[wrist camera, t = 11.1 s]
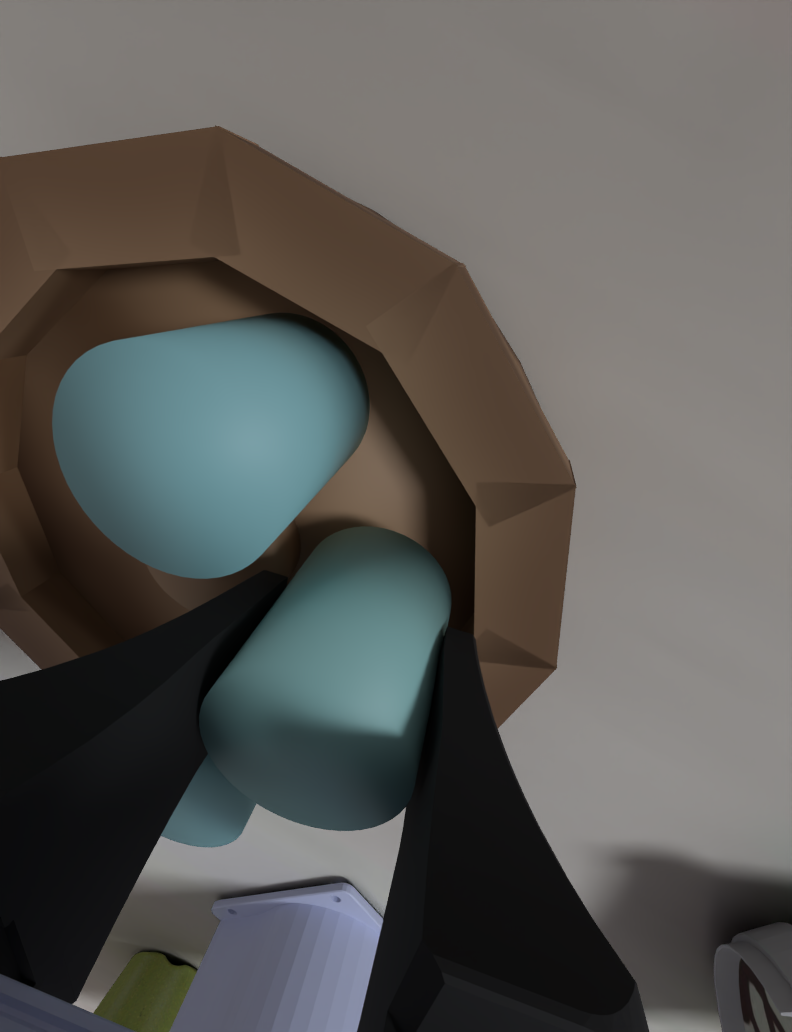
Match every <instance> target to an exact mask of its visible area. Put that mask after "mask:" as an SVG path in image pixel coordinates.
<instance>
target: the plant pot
mask: <svg viewBox="0 0 792 1032" xmlns="http://www.w3.org/2000/svg"><path fill="white" fill-rule="evenodd" d="M196 973H197V970H195V969H194V968H192V967H190V966H188V965H182V966H175V965H173V964H171V963H170V962H169V961H168V960H167V958H166V956H165V955H163V954H161V953H158V952H140V953H137V954H135V955H134V956H133V957H132V959H131V960H130V962H129V963H128V965H127V966H126V967H125V969H124V970H123V972H122V973H121V974H120V976H119V977H118V979H117V980H116V982H115V983H114V984H113V986H112V987H111V989H110V990H109V992H108V993H107V994H106V996H105V997H104V999H103V1000H102V1001H101V1003H100V1004H99V1006H98V1007H97V1009H96V1010H95V1011H94V1013H93V1014H96V1015H98V1016H100V1017H103V1018H105V1019H107V1020H110V1021H112V1022H115V1023H117V1024H119V1025H122V1026H124V1027H126V1028H129V1029H131V1030H133V1031H136V1032H169V1031H170V1029H171V1027H172V1025H173V1022H174V1020H175V1018H176V1016H177V1014H178V1012H179V1009H180V1007H181V1005H182V1003H183V1001H184V999H185V996H186V994H187V992H188V990H189V988H190V986H191V983H192V981H193V979H194V977H195V975H196Z"/></svg>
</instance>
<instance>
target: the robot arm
mask: <svg viewBox="0 0 792 1032" xmlns="http://www.w3.org/2000/svg"><path fill="white" fill-rule="evenodd" d="M287 580H288V577H286V576H283V575H280V574H277V573H273V572H270V571H267V570H263V571H261V572H259V573H257V574H255V575H254V576H252V577H250V578H248V579H247V580H245V581H243V582H241V583H240V584H238V585H236V586H234V587H233V588H231V589H229V590H227V591H226V592H224V593H222V594H220V595H218V596H217V597H215V598H213V599H211V600H209V601H207V602H206V603H204V604H202V605H200V606H198V607H196V608H194V609H193V610H191V611H189V612H187V613H185V614H183V615H181V616H179V617H177V618H175V619H173V620H171V621H169V622H166V623H164V624H162V625H160V626H158V627H156V628H154V629H152V630H150V631H148V632H145V633H143V634H141V635H138V636H136V637H134V638H131V639H129V640H126V641H124V642H121V643H119V644H116V645H113V646H111V647H108V648H106V649H103V650H100V651H98V652H95V653H92V654H89V655H86V656H83V657H80V658H77V659H73V660H70V661H67V662H64V663H61V664H58V665H55V666H52V667H49V668H46V669H42V670H39V671H35V672H32V673H28V674H25V675H21V676H17V677H14V678H10V679H6V680H2V681H0V1032H136V1031H133V1030H131V1029H129V1028H126V1027H124V1026H122V1025H119V1024H117V1023H115V1022H112V1021H110V1020H107V1019H105V1018H103V1017H100V1016H98V1015H96V1014H93V1013H91V1012H89V1011H86V1010H84V1009H82V1008H79V1007H77V1006H75V1005H72V1004H73V1003H74V1002H75V1001H76V1000H77V998H78V996H79V994H80V992H81V990H82V988H83V986H84V984H85V982H86V980H87V978H88V976H89V974H90V972H91V970H92V968H93V966H94V964H95V962H96V960H97V958H98V956H99V954H100V952H101V950H102V948H103V945H104V943H105V941H106V939H107V937H108V935H109V933H110V931H111V929H112V927H113V925H114V923H115V921H116V919H117V917H118V915H119V914H120V912H121V910H122V908H123V906H124V904H125V902H126V900H127V898H128V896H129V894H130V892H131V890H132V889H133V887H134V885H135V883H136V881H137V879H138V877H139V875H140V873H141V871H142V869H143V867H144V866H145V864H146V862H147V860H148V858H149V856H150V854H151V852H152V851H153V849H154V847H155V845H156V843H157V841H158V840H159V838H160V836H161V834H162V832H163V830H164V829H165V827H166V825H167V823H168V821H169V819H170V818H171V816H172V814H173V812H174V810H175V809H176V807H177V805H178V803H179V802H180V800H181V798H182V796H183V794H184V793H185V791H186V789H187V787H188V786H189V784H190V782H191V780H192V779H193V777H194V775H195V773H196V772H197V770H198V769H199V767H200V765H201V764H202V762H203V761H204V759H205V758H206V756H207V755H208V752H207V750H206V748H205V746H204V743H203V740H202V737H201V733H200V727H199V715H200V709H201V706H202V703H203V701H204V698H205V697H206V695H207V694H208V692H209V691H210V689H211V688H212V687H213V685H214V684H215V683H216V681H217V680H218V678H219V677H220V676H221V674H222V673H223V672H224V670H225V669H226V668H227V666H228V665H229V664H230V662H231V661H232V660H233V658H234V657H235V656H236V654H237V653H238V652H239V650H240V649H241V647H242V646H243V645H244V643H245V642H246V641H247V639H248V638H249V637H250V635H251V634H252V633H253V631H254V630H255V629H256V627H257V626H258V625H259V623H260V622H261V620H262V619H263V618H264V616H265V615H266V614H267V612H268V611H269V610H270V608H271V607H272V606H273V604H274V603H275V602H276V600H277V599H278V598H279V596H280V595H281V594H282V592H283V591H284V589H285V588H286V587H287ZM211 911H212V913H213V914H214V915H215V916H216V917H217V918H218V919H219V920H220V923H219V925H218V927H217V929H216V931H215V934H214V936H213V938H212V940H211V942H210V944H209V947H208V949H207V951H206V953H205V955H204V957H203V960H202V962H201V964H200V966H199V968H198V970H197V973H196V975H195V977H194V979H193V981H192V983H191V986H190V988H189V990H188V992H187V994H186V996H185V999H184V1001H183V1003H182V1005H181V1007H180V1009H179V1012H178V1014H177V1016H176V1018H175V1020H174V1022H173V1025H172V1027H171V1029H170V1031H169V1032H649V1029H648V1025H647V1021H646V1017H645V1013H644V1009H643V1006H642V1002H641V998H640V994H639V991H638V987H637V984H636V982H635V980H634V979H633V977H632V976H631V974H630V973H629V971H628V970H627V968H626V967H625V966H624V964H623V963H622V961H621V960H620V958H619V957H618V955H617V954H616V952H615V951H614V950H613V948H612V947H611V945H610V944H609V942H608V941H607V939H606V938H605V936H604V935H603V933H602V932H601V931H600V929H599V928H598V926H597V925H596V923H595V922H594V920H593V919H592V917H591V915H590V914H589V912H588V911H587V909H586V907H585V906H584V904H583V902H582V901H581V899H580V897H579V896H578V894H577V893H576V891H575V889H574V888H573V886H572V884H571V883H570V881H569V879H568V878H567V876H566V874H565V872H564V871H563V869H562V867H561V865H560V863H559V861H558V860H557V858H556V856H555V854H554V852H553V851H552V849H551V847H550V845H549V843H548V842H547V840H546V838H545V836H544V834H543V832H542V831H541V829H540V827H539V825H538V823H537V821H536V819H535V817H534V815H533V813H532V811H531V809H530V807H529V804H528V802H527V800H526V798H525V796H524V794H523V792H522V789H521V787H520V785H519V783H518V780H517V778H516V776H515V774H514V771H513V769H512V766H511V764H510V761H509V759H508V756H507V754H506V751H505V748H504V746H503V743H502V740H501V737H500V734H499V732H498V729H497V726H496V723H495V720H494V717H493V713H492V710H491V706H490V703H489V700H488V696H487V693H486V689H485V685H484V681H483V677H482V673H481V668H480V663H479V658H478V652H477V645H476V639H475V637H474V636H473V634H470V633H467V632H464V631H460V630H457V629H454V628H451V627H447V629H446V632H445V635H444V638H443V643H442V648H441V652H440V657H439V662H438V667H437V673H436V680H435V686H434V692H433V698H432V704H431V709H430V714H429V719H428V724H427V729H426V733H425V738H424V743H423V748H422V753H421V758H420V763H419V767H418V772H417V777H416V782H415V787H414V790H413V793H412V797H411V799H410V800H409V802H408V804H407V806H406V812H405V819H404V826H403V832H402V837H401V843H400V848H399V853H398V857H397V862H396V866H395V870H394V875H393V879H392V884H391V888H390V893H389V897H388V901H387V906H386V910H385V914H384V919H383V918H382V917H381V916H380V915H379V914H378V913H377V912H376V911H375V910H374V909H373V907H372V906H371V905H370V904H369V903H368V902H367V901H366V900H365V899H364V898H363V897H362V895H361V894H360V893H359V892H358V891H357V890H356V889H355V888H354V887H353V886H352V885H350V884H348V883H334V884H327V885H320V886H313V887H306V888H299V889H292V890H285V891H278V892H271V893H264V894H257V895H250V896H243V897H236V898H229V899H222V900H217V901H215V902H214V904H213V906H212V908H211Z"/></svg>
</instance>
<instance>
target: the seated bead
mask: <svg viewBox="0 0 792 1032" xmlns="http://www.w3.org/2000/svg"><path fill="white" fill-rule="evenodd" d="M255 805H256V803H255V802H254V801H252V800H251V799H249V798H248V797H247V796H245V795H244V794H243V793H241V792H240V791H239V790H238V789H237V788H236V787H235V786H233V785H232V784H231V783H230V782H229V781H228V780H227V779H226V778H225V777H224V776H223V774H222V773H221V772H220V771H219V769H218V768H217V767H216V765H215V764H214V762H213V761H212V759H211V758H210V756H209V754H208V755H207V756H206V758H205V759H204V761H203V762H202V764H201V765H200V767H199V769H198V770H197V772H196V773H195V775H194V777H193V779H192V780H191V782H190V784H189V786H188V787H187V789H186V791H185V793H184V794H183V796H182V798H181V800H180V802H179V803H178V805H177V807H176V809H175V810H174V812H173V814H172V816H171V818H170V819H169V821H168V823H167V825H166V827H165V829H164V830H163V832H162V834H161V836H163V837H165V838H168V839H170V840H173V841H176V842H179V843H183V844H187V845H191V846H197V847H218V846H223V845H226V844H229V843H231V842H233V841H234V840H236V839H237V838H238V837H239V836H240V835H241V833H242V831H243V829H244V827H245V825H246V823H247V821H248V819H249V817H250V815H251V813H252V811H253V809H254V807H255Z"/></svg>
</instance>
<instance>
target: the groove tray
mask: <svg viewBox="0 0 792 1032" xmlns="http://www.w3.org/2000/svg"><path fill="white" fill-rule="evenodd" d="M271 313H293V314H299V315H303V316H306V317H309V318H312V319H314V320H316V321H318V322H320V323H322V324H323V325H325V326H326V327H328V328H329V329H331V330H332V331H333V332H334V333H336V334H337V335H338V336H339V337H340V338H341V339H342V340H343V341H344V342H345V343H346V344H347V346H348V347H349V348H350V350H351V351H352V352H353V354H354V355H355V357H356V359H357V360H358V362H359V364H360V366H361V368H362V371H363V373H364V376H365V379H366V382H367V386H368V391H369V398H370V413H369V421H368V425H367V429H366V432H365V435H364V437H363V440H362V442H361V443H360V445H359V447H358V448H357V450H356V451H355V452H354V453H353V455H352V456H351V457H350V458H349V459H348V460H347V461H346V462H345V464H344V465H343V466H342V467H341V468H340V469H339V470H338V471H337V472H336V473H335V475H334V476H333V477H332V478H331V479H330V480H329V481H328V482H327V483H326V484H325V486H324V487H323V488H322V489H321V490H320V491H319V492H318V493H317V494H316V495H315V497H314V498H313V499H312V500H311V501H310V502H309V503H308V504H307V505H306V506H305V508H304V509H303V510H302V511H301V512H300V513H299V514H298V515H297V516H296V517H295V519H294V520H293V521H292V522H291V523H290V524H289V525H288V526H287V527H286V528H285V530H284V531H283V532H282V533H281V534H280V535H279V536H278V537H277V538H276V539H275V541H274V542H273V543H272V544H271V545H270V546H269V547H268V548H267V549H266V550H265V552H264V553H263V554H262V555H261V556H260V557H259V558H257V559H256V560H255V561H254V562H253V563H252V564H250V565H249V566H247V567H245V568H244V569H242V570H240V571H238V572H235V573H233V574H230V575H226V576H223V577H218V578H209V579H196V578H187V577H180V576H177V575H173V574H169V573H166V572H163V571H160V570H158V569H155V568H153V567H151V566H149V565H147V564H145V563H143V562H141V561H139V560H137V559H136V558H134V557H133V556H131V555H129V554H128V553H126V552H125V551H124V550H122V549H121V548H120V547H118V546H117V545H116V544H114V543H113V542H112V541H111V540H110V539H109V538H108V537H107V536H105V535H104V534H103V533H102V532H101V530H100V529H99V528H98V527H97V526H96V525H95V524H94V523H93V522H92V521H91V519H90V518H89V517H88V516H87V514H86V513H85V512H84V511H83V509H82V508H81V506H80V505H79V503H78V502H77V500H76V499H75V497H74V495H73V493H72V492H71V490H70V488H69V486H68V484H67V482H66V480H65V477H64V475H63V473H62V470H61V468H60V464H59V461H58V458H57V455H56V450H55V445H54V440H53V429H52V416H53V406H54V401H55V396H56V393H57V390H58V388H59V385H60V382H61V380H62V379H63V377H64V375H65V373H66V372H67V370H68V369H69V368H70V367H71V366H72V364H73V363H74V362H75V361H76V360H77V359H78V358H79V357H81V356H82V355H83V354H84V353H86V352H87V351H89V350H91V349H93V348H95V347H97V346H98V345H101V344H104V343H108V342H111V341H115V340H121V339H127V338H132V337H138V336H144V335H150V334H155V333H161V332H167V331H173V330H178V329H184V328H190V327H196V326H201V325H207V324H213V323H219V322H224V321H230V320H236V319H242V318H247V317H253V316H259V315H265V314H271ZM575 489H576V483H575V479H574V475H573V471H572V467H571V464H570V460H568V458H567V456H566V454H565V453H564V451H563V449H562V447H561V445H560V443H559V441H558V439H557V438H556V436H555V434H554V432H553V430H552V428H551V426H550V424H549V423H548V421H547V419H546V417H545V415H544V413H543V411H542V410H541V408H540V405H539V403H538V401H537V399H536V396H535V394H534V392H533V390H532V387H531V385H530V383H529V381H528V378H527V376H526V374H525V372H524V370H523V367H522V365H521V363H520V361H519V359H518V358H517V356H516V354H515V353H514V351H513V350H512V348H511V346H510V345H509V343H508V342H507V340H506V338H505V337H504V335H503V334H502V332H501V330H500V329H499V327H498V326H497V324H496V322H495V321H494V319H493V318H492V316H491V314H490V312H489V310H488V308H487V307H486V305H485V303H484V301H483V299H482V297H481V295H480V293H479V292H478V290H477V288H476V286H475V284H474V282H473V280H472V278H471V277H470V275H469V273H468V271H467V269H466V266H465V265H464V264H463V263H460V262H458V261H456V260H455V259H453V258H451V257H450V256H448V255H446V254H444V253H443V252H441V251H439V250H437V249H436V248H434V247H432V246H430V245H429V244H427V243H425V242H424V241H422V240H420V239H418V238H417V237H415V236H413V235H411V234H410V233H408V232H406V231H405V230H403V229H401V228H399V227H398V226H396V225H394V224H393V223H391V222H390V221H388V220H387V219H385V218H384V217H382V216H381V215H380V214H378V213H377V212H375V211H374V210H371V209H369V208H367V207H365V206H363V205H361V204H359V203H357V202H355V201H353V200H351V199H349V198H347V197H346V196H344V195H342V194H340V193H339V192H337V191H335V190H334V189H332V188H330V187H328V186H327V185H325V184H323V183H321V182H320V181H318V180H316V179H314V178H313V177H311V176H309V175H308V174H306V173H304V172H302V171H301V170H299V169H297V168H295V167H294V166H292V165H290V164H288V163H287V162H285V161H283V160H282V159H280V158H278V157H276V156H275V155H273V154H271V153H269V152H268V151H266V150H264V149H263V148H261V147H259V145H257V144H255V143H253V142H251V141H249V140H247V139H245V138H243V137H241V136H239V135H236V134H234V133H232V132H230V131H228V130H226V129H224V128H222V127H220V126H215V127H210V128H203V129H196V130H189V131H182V132H175V133H168V134H161V135H154V136H147V137H140V138H133V139H126V140H119V141H112V142H105V143H98V144H91V145H84V146H78V147H71V148H64V149H57V150H50V151H43V152H36V153H29V154H22V155H15V156H8V157H0V628H1V629H2V630H3V631H4V632H5V633H6V634H7V635H8V636H9V637H10V638H11V639H12V640H13V641H14V642H15V643H16V644H17V645H18V646H19V647H20V648H21V649H22V650H23V651H24V652H25V653H26V654H27V655H28V656H29V657H30V658H31V659H32V660H33V661H34V662H35V663H36V664H37V665H38V666H39V667H40V668H41V669H46V668H49V667H52V666H55V665H58V664H61V663H64V662H67V661H70V660H73V659H77V658H80V657H83V656H86V655H89V654H92V653H95V652H98V651H100V650H103V649H106V648H108V647H111V646H113V645H116V644H119V643H121V642H124V641H126V640H129V639H131V638H134V637H136V636H138V635H141V634H143V633H145V632H148V631H150V630H152V629H154V628H156V627H158V626H160V625H162V624H164V623H166V622H169V621H171V620H173V619H175V618H177V617H179V616H181V615H183V614H185V613H187V612H189V611H191V610H193V609H194V608H196V607H198V606H200V605H202V604H204V603H206V602H207V601H209V600H211V599H213V598H215V597H217V596H218V595H220V594H222V593H224V592H226V591H227V590H229V589H231V588H233V587H234V586H236V585H238V584H240V583H241V582H243V581H245V580H247V579H248V578H250V577H252V576H254V575H255V574H257V573H259V572H261V571H263V570H267V571H270V572H273V573H277V574H280V575H283V576H286V577H288V580H287V585H288V584H289V583H290V581H291V580H292V579H293V577H294V576H295V575H296V573H297V572H298V571H299V569H300V568H301V567H302V565H303V564H304V562H305V561H306V560H307V558H308V557H309V556H310V554H311V553H312V552H313V550H314V549H315V548H316V547H317V546H318V545H319V543H320V542H322V541H323V540H324V539H325V538H327V537H328V536H330V535H332V534H334V533H335V532H338V531H341V530H344V529H348V528H352V527H361V526H370V527H379V528H385V529H388V530H392V531H395V532H398V533H400V534H403V535H405V536H407V537H409V538H410V539H412V540H414V541H415V542H417V543H418V544H420V545H421V546H423V547H424V548H425V549H426V550H427V551H428V552H429V553H430V554H431V555H432V556H433V557H434V558H435V559H436V560H437V562H438V563H439V565H440V566H441V568H442V569H443V571H444V573H445V575H446V577H447V580H448V582H449V585H450V590H451V598H452V605H451V612H450V617H449V622H448V627H451V628H454V629H457V630H460V631H464V632H467V633H470V634H473V636H474V637H475V639H476V645H477V652H478V658H479V663H480V668H481V673H482V677H483V681H484V685H485V689H486V693H487V696H488V700H489V703H490V706H491V710H492V713H493V717H494V720H495V723H496V726H497V729H498V728H499V727H500V726H501V725H502V724H503V723H504V722H505V721H506V719H507V718H508V717H509V716H510V715H511V714H512V713H513V712H514V711H515V710H516V709H517V708H518V707H519V706H520V705H521V704H522V703H523V702H524V701H525V700H526V699H527V698H528V697H529V696H530V695H531V694H532V693H533V692H534V691H535V690H536V689H537V688H538V687H539V686H540V685H541V684H542V683H543V682H544V681H545V680H546V679H547V678H548V677H549V676H550V674H551V673H552V672H553V671H554V670H556V668H557V656H558V646H559V637H560V628H561V619H562V609H563V600H564V591H565V581H566V572H567V563H568V554H569V544H570V535H571V526H572V516H573V507H574V498H575Z"/></svg>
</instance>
